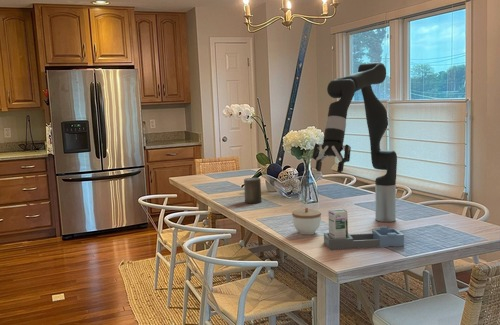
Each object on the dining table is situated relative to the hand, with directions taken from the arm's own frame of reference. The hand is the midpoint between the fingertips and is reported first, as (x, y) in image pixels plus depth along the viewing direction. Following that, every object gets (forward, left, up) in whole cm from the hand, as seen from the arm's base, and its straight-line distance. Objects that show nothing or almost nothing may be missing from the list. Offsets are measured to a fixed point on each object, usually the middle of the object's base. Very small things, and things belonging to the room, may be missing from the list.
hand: (328, 171), depth 177 cm
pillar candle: (-97, -24, -32) cm, 105 cm away
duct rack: (-8, +15, -31) cm, 36 cm away
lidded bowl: (-29, -4, -32) cm, 43 cm away
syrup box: (-8, +5, -32) cm, 33 cm away
